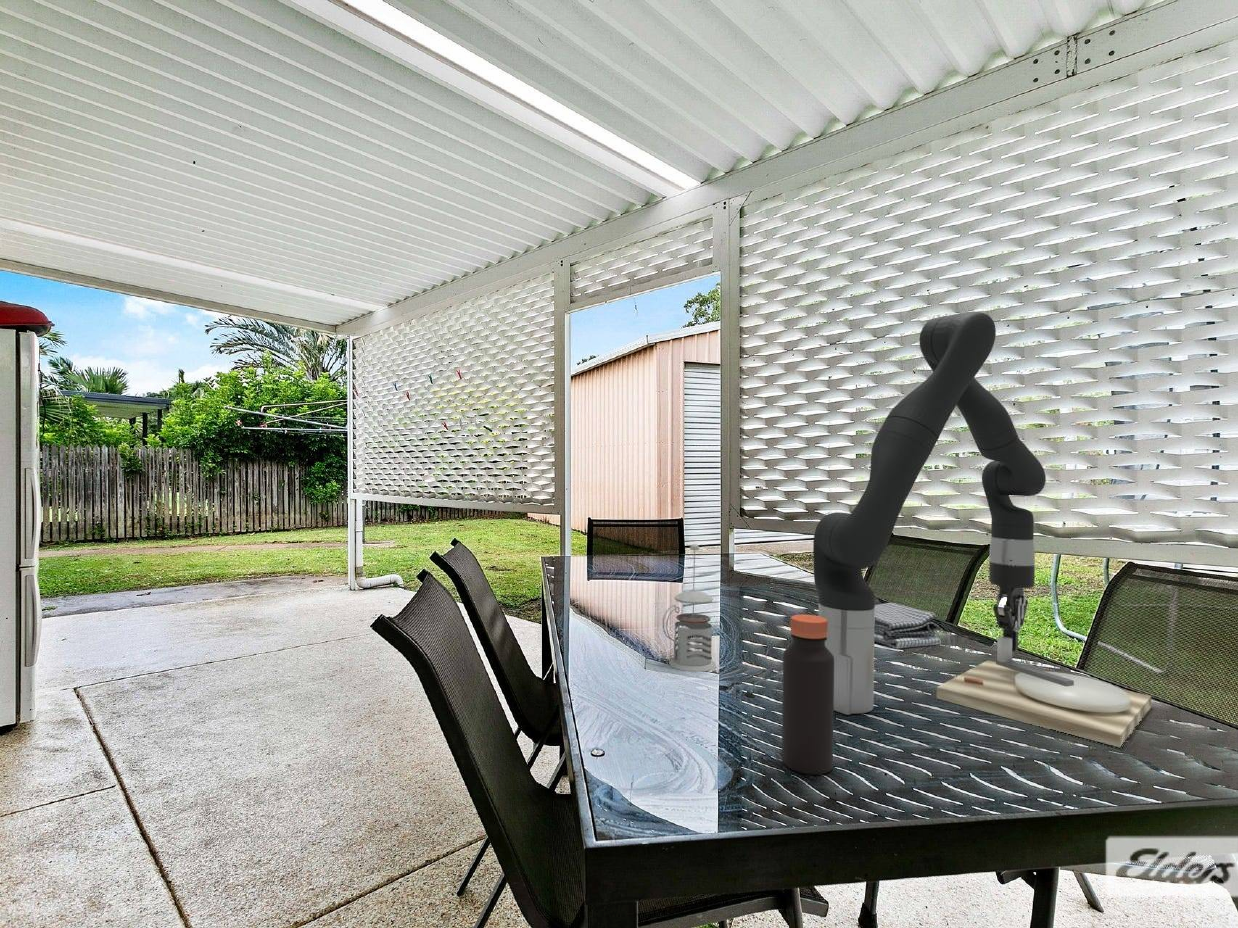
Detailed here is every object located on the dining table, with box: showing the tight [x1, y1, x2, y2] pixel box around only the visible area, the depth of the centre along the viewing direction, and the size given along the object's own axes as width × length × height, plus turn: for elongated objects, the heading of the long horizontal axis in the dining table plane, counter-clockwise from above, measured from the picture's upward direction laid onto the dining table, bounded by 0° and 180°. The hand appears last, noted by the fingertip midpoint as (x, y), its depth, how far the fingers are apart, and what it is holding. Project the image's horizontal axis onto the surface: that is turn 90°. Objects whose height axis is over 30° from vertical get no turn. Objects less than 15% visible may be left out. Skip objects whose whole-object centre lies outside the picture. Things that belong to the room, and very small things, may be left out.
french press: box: [662, 543, 717, 673], centre depth 128 cm, size 10×12×25 cm
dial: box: [995, 635, 1130, 713], centre depth 108 cm, size 16×21×7 cm
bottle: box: [781, 614, 834, 776], centre depth 85 cm, size 7×7×20 cm
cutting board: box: [936, 659, 1152, 748], centre depth 110 cm, size 26×26×3 cm
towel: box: [874, 602, 942, 650], centre depth 152 cm, size 15×18×8 cm
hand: (1010, 649), depth 121 cm, fingers closed
